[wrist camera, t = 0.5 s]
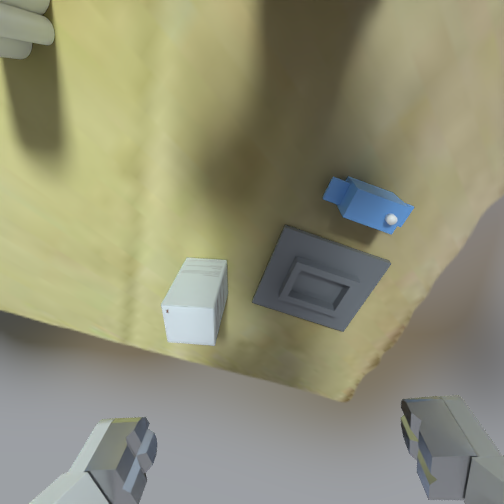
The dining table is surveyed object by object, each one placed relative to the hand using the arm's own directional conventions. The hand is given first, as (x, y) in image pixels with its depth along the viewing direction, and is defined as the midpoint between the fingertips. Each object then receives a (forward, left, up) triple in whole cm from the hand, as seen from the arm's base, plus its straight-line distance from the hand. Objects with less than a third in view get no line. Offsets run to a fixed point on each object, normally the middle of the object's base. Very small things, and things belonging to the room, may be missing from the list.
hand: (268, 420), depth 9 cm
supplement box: (+22, -5, -36) cm, 42 cm away
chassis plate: (+16, +13, -36) cm, 41 cm away
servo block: (0, +13, -36) cm, 38 cm away
